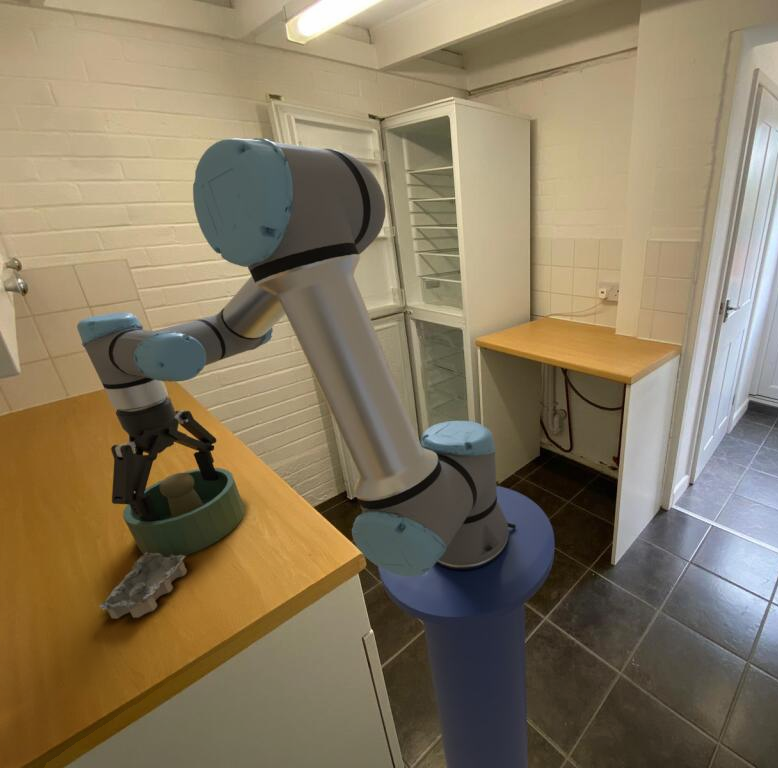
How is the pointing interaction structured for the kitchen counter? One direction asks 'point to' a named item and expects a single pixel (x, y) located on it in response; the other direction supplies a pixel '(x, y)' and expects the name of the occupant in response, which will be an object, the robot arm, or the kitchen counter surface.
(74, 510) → the kitchen counter surface
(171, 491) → the cork
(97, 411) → the kitchen counter surface
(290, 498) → the kitchen counter surface
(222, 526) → the green round bowl
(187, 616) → the kitchen counter surface
